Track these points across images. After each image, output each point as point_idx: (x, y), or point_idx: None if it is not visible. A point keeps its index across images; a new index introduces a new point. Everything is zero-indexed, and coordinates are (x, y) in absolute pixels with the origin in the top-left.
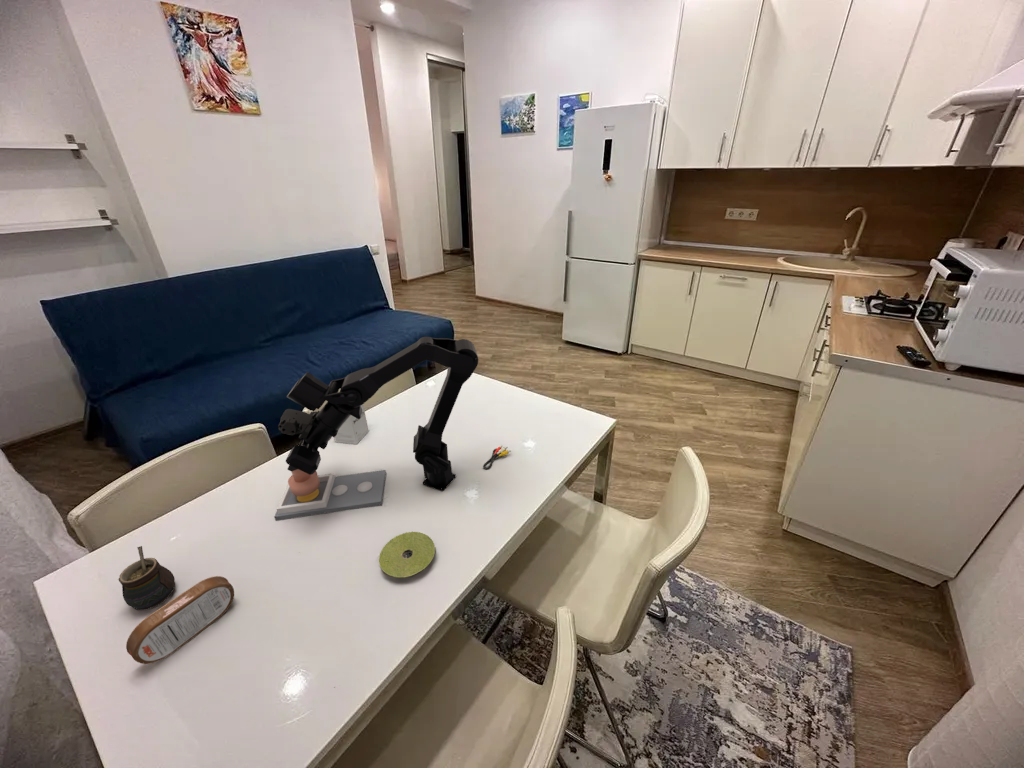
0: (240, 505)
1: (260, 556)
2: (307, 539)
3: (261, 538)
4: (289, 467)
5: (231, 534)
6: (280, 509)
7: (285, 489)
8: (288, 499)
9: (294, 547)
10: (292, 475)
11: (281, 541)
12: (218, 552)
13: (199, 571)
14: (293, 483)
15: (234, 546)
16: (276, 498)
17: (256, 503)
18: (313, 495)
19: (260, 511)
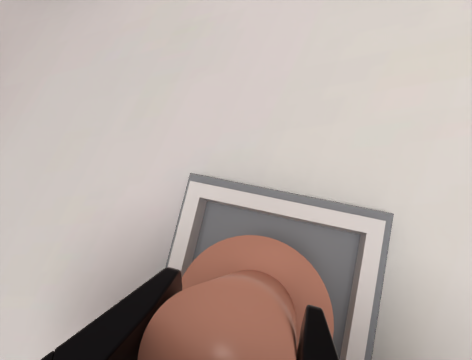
0: (334, 50)
1: (65, 151)
2: (60, 282)
3: (135, 143)
4: (140, 291)
5: (195, 56)
6: (187, 195)
7: (306, 206)
8: (270, 216)
9: (49, 243)
10: (297, 257)
11: (92, 203)
12: (137, 41)
13: (93, 15)
14: (216, 265)
15: (139, 76)
16: (324, 166)
17: (323, 100)
18: None
19: (269, 121)
